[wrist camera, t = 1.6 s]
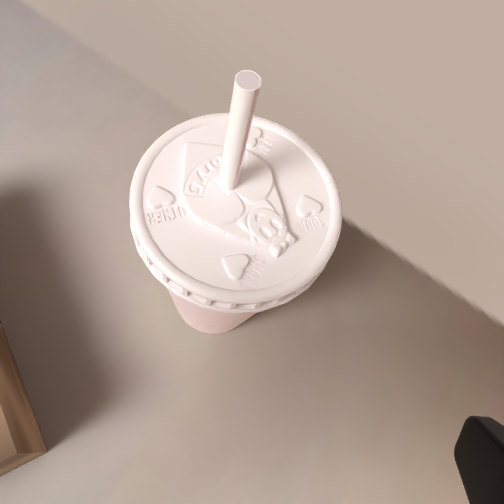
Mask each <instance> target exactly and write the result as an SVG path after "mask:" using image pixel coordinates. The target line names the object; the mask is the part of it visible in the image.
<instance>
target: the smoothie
mask: <svg viewBox="0 0 504 504" xmlns="http://www.w3.org/2000/svg"><path fill="white" fill-rule="evenodd" d="M260 86H261V79H260V77H259V75H258V74H256V73H255V72H253V71H250V70H243V71H240V72H239V73H238V74H237V75H236V77H235V83H234V88H233V95H232V101H231V107H230V113H219V114H210V115H204V116H200V117H196V118H193V119H190V120H187V121H185V122H183V123H181V124H179V125H177V126H175V127H173V128H171V129H170V130H168V131H167V132H166V133H164V134H163V135H162V136H160V137H159V138H158V139H157V140H156V141H155V142H154V143H153V144H152V145H151V146H150V147H149V148H148V150H147V151H146V152H145V154H144V155H143V157H142V158H141V160H140V162H139V164H138V166H137V168H136V170H135V173H134V176H133V179H132V183H131V188H130V197H129V204H130V228H131V231H132V234H133V238H134V241H135V244H136V248H137V251H138V253H139V255H140V256H141V258H142V259H143V261H144V262H145V264H146V265H147V267H148V268H149V270H150V271H151V273H152V275H153V276H154V277H155V278H157V279H158V280H159V281H160V282H161V283H162V284H163V285H165V286H166V287H167V289H168V291H169V293H170V295H171V297H172V299H173V301H174V303H175V305H176V307H177V309H178V311H179V313H180V315H181V317H182V318H183V319H184V321H185V322H186V323H187V324H189V325H190V326H191V327H193V328H194V329H196V330H198V331H201V332H204V333H210V334H219V333H224V332H227V331H230V330H232V329H234V328H235V327H237V326H238V325H240V324H241V323H243V322H244V321H245V320H247V319H248V318H250V317H251V316H252V315H254V314H255V313H257V312H261V311H264V310H267V309H270V308H274V307H277V306H280V305H283V304H286V303H287V302H289V301H290V300H292V299H293V298H295V297H296V296H298V295H299V294H301V293H302V292H304V291H305V290H307V289H308V288H309V287H310V286H311V285H312V283H313V282H314V281H315V280H316V278H317V277H318V276H319V275H320V274H321V272H322V271H323V270H324V269H325V266H326V264H327V262H328V260H329V258H330V257H331V255H332V253H333V251H334V249H335V247H336V245H337V242H338V239H339V235H340V231H341V224H342V205H341V199H340V194H339V190H338V187H337V184H336V182H335V179H334V177H333V175H332V173H331V171H330V169H329V167H328V166H327V164H326V163H325V161H324V160H323V159H322V157H321V156H320V155H319V154H318V153H317V151H316V150H314V148H313V147H312V146H311V145H310V144H309V143H307V142H306V141H305V140H304V139H303V138H301V137H300V136H299V135H297V134H296V133H294V132H293V131H291V130H289V129H288V128H286V127H284V126H282V125H280V124H278V123H275V122H273V121H270V120H267V119H264V118H261V117H257V116H253V115H254V111H255V107H256V102H257V98H258V94H259V90H260Z"/></svg>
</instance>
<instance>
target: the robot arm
mask: <svg viewBox="0 0 504 504" xmlns="http://www.w3.org/2000/svg"><path fill="white" fill-rule="evenodd" d="M454 456H455V461H456V464H457V467H458V470H459V473H460V476H461V479H462V482H463V485H464V488H465V491H466V494H467V497H468V500H469V503H470V504H504V426H503V425H501V424H500V423H498V422H497V421H495V420H494V419H492V418H490V417H483V416H470V417H468V418H467V419H466V420H465V422H464V425H463V427H462V430H461V432H460V435H459V437H458V440H457V442H456V445H455V449H454Z"/></svg>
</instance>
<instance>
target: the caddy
mask: <svg viewBox="0 0 504 504" xmlns="http://www.w3.org/2000/svg"><path fill="white" fill-rule="evenodd" d="M45 453H47V449H46V447H45V444H44V441H43V438H42V436H41V433H40V430H39V427H38V425H37V422H36V419H35V416H34V413H33V411H32V408H31V405H30V402H29V400H28V397H27V394H26V391H25V389H24V386H23V383H22V380H21V378H20V375H19V372H18V369H17V367H16V364H15V361H14V358H13V356H12V353H11V350H10V347H9V345H8V342H7V339H6V336H5V334H4V331H3V328H2V325H1V322H0V476H2V475H4V474H6V473H8V472H10V471H12V470H14V469H16V468H18V467H20V466H22V465H24V464H26V463H27V462H29V461H31V460H33V459H35V458H37V457H39V456H41V455H43V454H45Z"/></svg>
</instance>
